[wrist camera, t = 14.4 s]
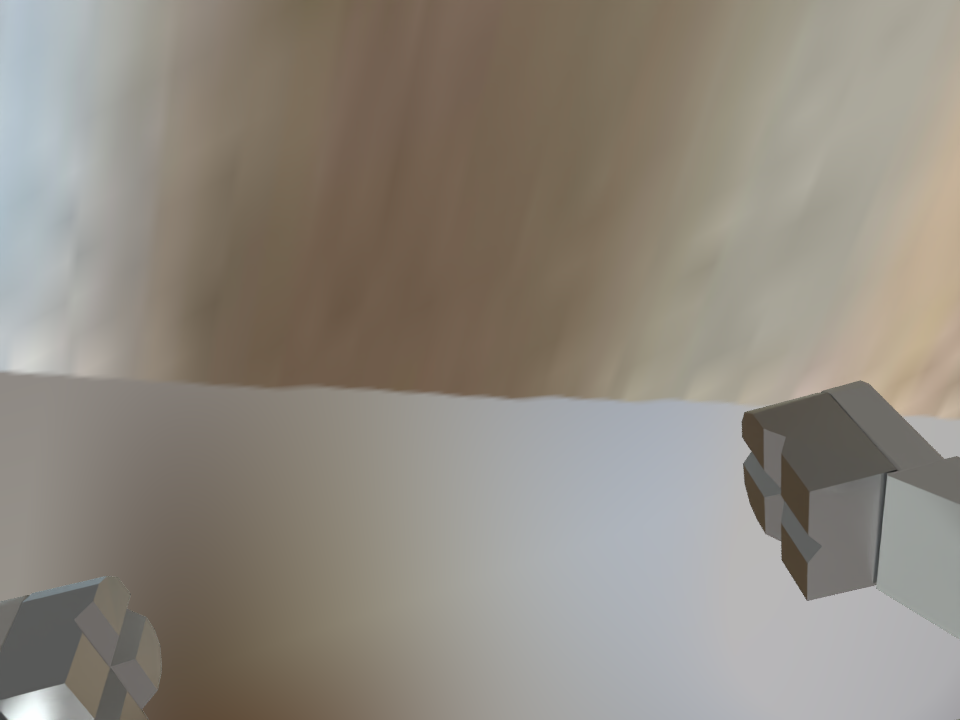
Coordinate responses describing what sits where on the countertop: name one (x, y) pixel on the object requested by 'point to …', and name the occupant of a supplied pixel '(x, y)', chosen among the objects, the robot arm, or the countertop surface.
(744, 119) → the countertop surface
